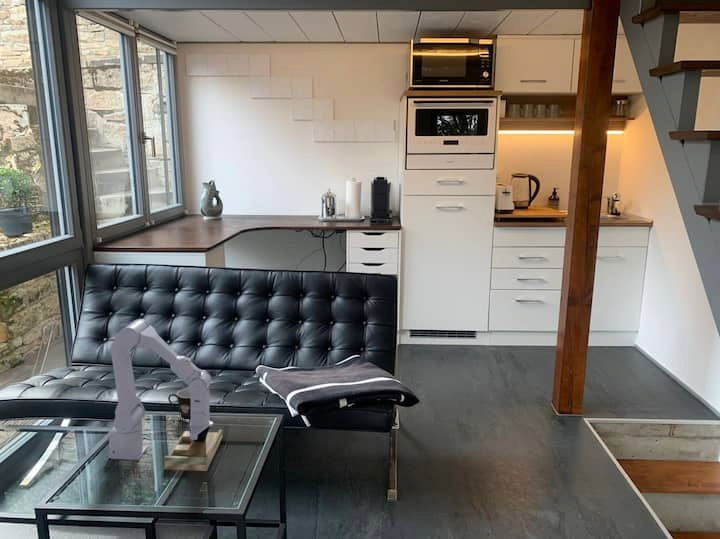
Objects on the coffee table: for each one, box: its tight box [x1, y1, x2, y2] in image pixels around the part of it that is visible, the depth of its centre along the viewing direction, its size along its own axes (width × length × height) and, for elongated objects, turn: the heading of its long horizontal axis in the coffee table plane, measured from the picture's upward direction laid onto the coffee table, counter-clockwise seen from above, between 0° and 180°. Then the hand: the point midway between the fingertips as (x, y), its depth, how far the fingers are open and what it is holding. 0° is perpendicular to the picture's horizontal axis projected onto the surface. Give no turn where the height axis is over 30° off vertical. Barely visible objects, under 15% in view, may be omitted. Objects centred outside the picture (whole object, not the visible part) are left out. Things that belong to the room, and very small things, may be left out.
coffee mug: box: [167, 387, 191, 420], centre depth 199 cm, size 12×9×10 cm
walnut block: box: [188, 442, 206, 457], centre depth 170 cm, size 4×4×4 cm
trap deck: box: [163, 429, 223, 472], centre depth 177 cm, size 13×20×4 cm, turn 0°
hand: (200, 448), depth 174 cm, fingers closed
